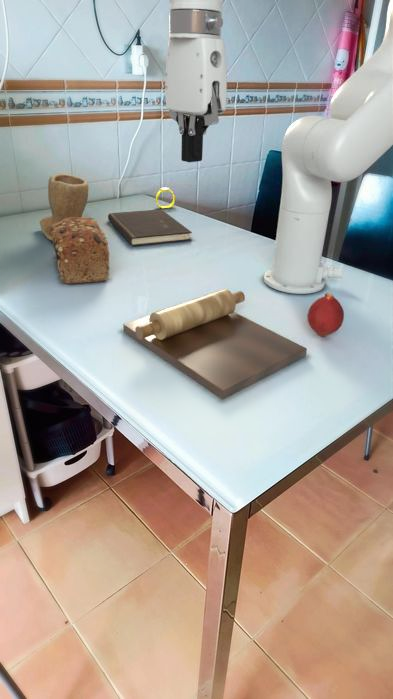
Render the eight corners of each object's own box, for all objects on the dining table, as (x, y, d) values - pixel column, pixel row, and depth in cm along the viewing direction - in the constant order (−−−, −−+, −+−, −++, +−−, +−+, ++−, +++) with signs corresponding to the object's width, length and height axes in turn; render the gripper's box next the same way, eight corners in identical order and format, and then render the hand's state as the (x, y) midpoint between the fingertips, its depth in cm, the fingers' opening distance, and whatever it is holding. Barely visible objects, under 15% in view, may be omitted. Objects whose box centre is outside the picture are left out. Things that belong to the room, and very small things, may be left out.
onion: (314, 324, 84) (322, 282, 80) (345, 335, 81) (354, 292, 77) (298, 336, 80) (305, 292, 76) (329, 348, 77) (339, 303, 73)
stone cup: (96, 243, 118) (91, 180, 111) (47, 247, 114) (38, 182, 107) (85, 225, 130) (80, 168, 123) (40, 229, 126) (31, 169, 119)
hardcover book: (161, 217, 140) (161, 209, 139) (191, 240, 122) (191, 231, 121) (108, 221, 135) (107, 213, 134) (131, 246, 117) (130, 237, 116)
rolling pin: (231, 303, 87) (233, 281, 85) (248, 312, 84) (251, 289, 82) (131, 339, 74) (129, 314, 72) (147, 351, 72) (147, 325, 69)
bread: (111, 282, 97) (108, 234, 92) (57, 286, 95) (51, 237, 89) (99, 252, 113) (96, 209, 108) (53, 255, 110) (47, 211, 105)
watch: (173, 206, 152) (173, 187, 149) (175, 208, 149) (176, 188, 146) (155, 207, 150) (154, 187, 147) (157, 209, 148) (157, 189, 145)
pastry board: (203, 304, 90) (204, 296, 89) (305, 356, 75) (307, 348, 74) (123, 332, 80) (123, 324, 79) (222, 399, 64) (223, 390, 64)
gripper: (250, 28, 67) (239, 166, 76) (182, 30, 76) (180, 153, 86) (210, 24, 63) (205, 170, 72) (144, 27, 72) (146, 156, 82)
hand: (191, 160), depth 79 cm, fingers closed
